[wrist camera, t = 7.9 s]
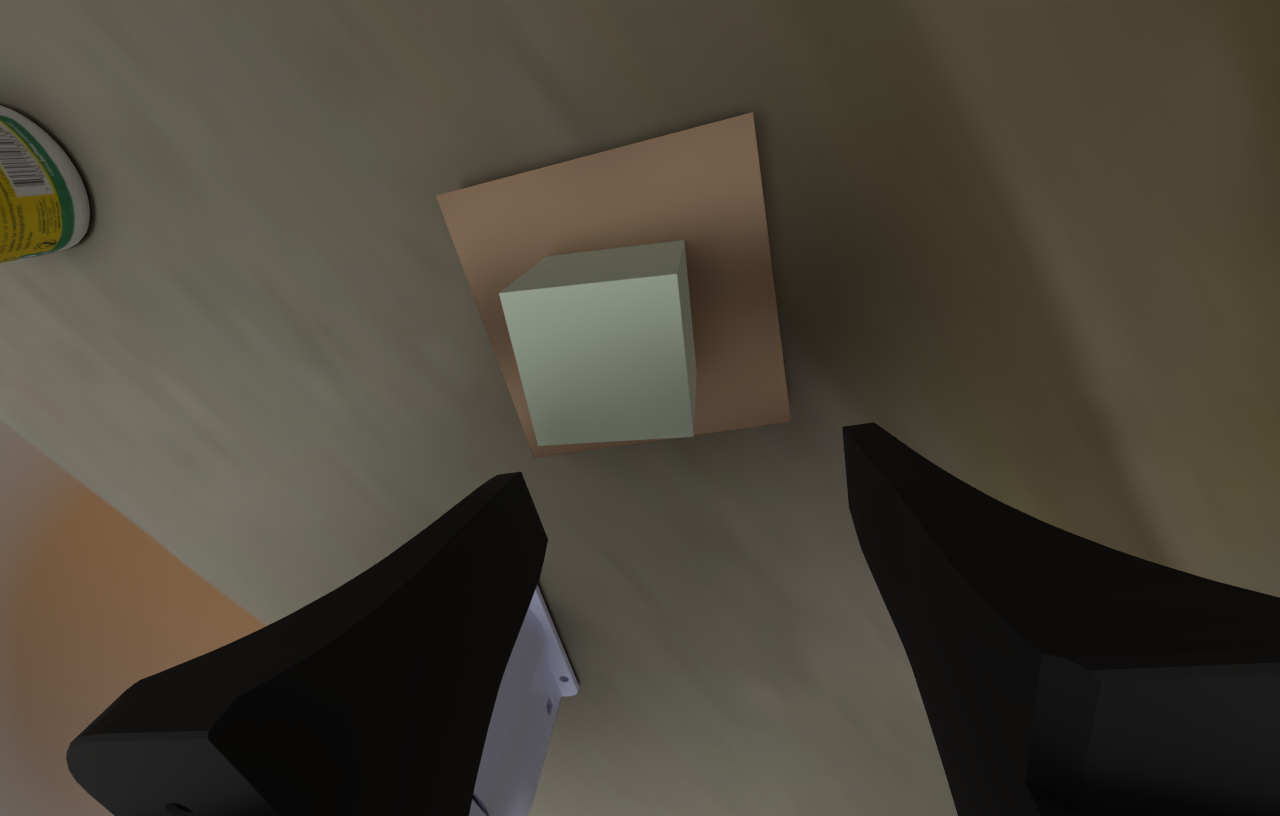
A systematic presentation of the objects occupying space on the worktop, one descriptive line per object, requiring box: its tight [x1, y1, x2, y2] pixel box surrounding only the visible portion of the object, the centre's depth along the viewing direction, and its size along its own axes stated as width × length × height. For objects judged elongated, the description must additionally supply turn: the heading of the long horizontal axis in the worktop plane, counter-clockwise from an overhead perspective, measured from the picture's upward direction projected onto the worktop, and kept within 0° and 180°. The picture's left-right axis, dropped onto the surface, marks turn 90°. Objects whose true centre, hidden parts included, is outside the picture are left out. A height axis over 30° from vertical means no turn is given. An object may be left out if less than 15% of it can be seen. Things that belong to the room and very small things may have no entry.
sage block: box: [499, 240, 697, 446], centre depth 16 cm, size 4×4×4 cm
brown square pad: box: [436, 112, 791, 458], centre depth 19 cm, size 10×10×2 cm
